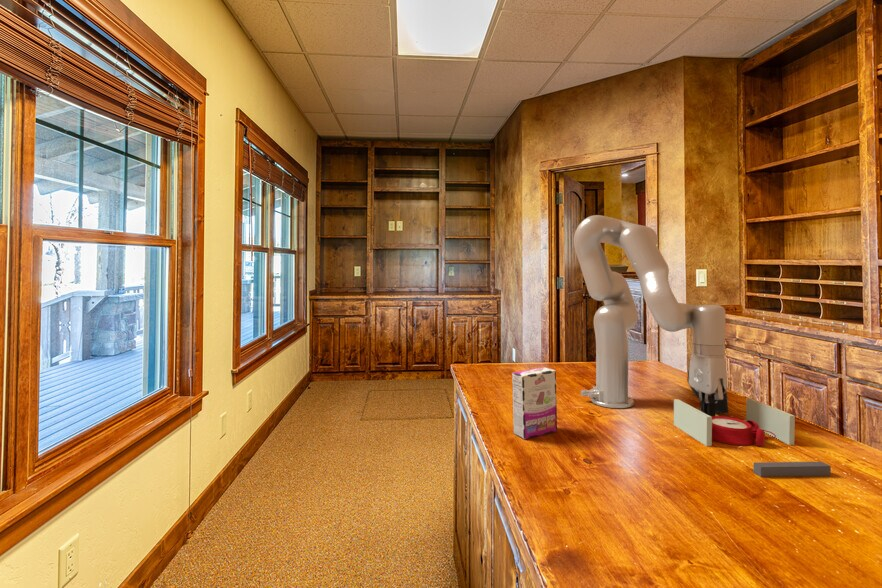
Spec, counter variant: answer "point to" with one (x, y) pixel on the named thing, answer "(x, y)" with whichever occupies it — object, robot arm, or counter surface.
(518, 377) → the candy bar box
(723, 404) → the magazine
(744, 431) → the alarm clock
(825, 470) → the rail
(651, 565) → the counter surface
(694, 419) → the shelf bay
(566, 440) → the counter surface
